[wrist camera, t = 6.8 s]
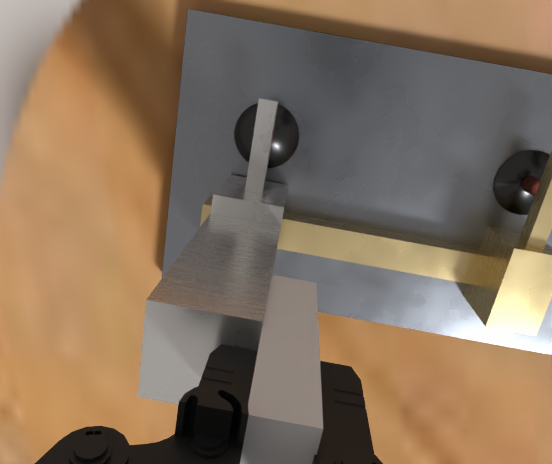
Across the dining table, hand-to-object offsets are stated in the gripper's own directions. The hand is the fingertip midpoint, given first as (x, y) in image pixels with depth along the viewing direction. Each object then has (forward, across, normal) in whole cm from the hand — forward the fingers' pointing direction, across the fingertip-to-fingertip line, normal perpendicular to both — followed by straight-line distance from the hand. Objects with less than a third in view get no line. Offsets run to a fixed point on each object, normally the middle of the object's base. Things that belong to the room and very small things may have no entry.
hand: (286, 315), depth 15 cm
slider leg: (+9, -2, +2) cm, 9 cm away
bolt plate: (+10, +4, +3) cm, 11 cm away
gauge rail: (+10, +4, +3) cm, 11 cm away
